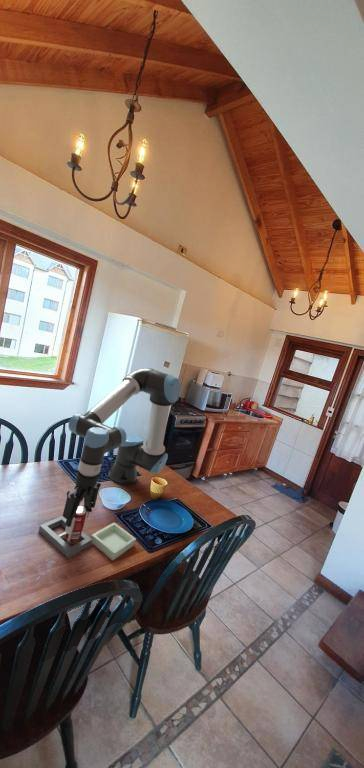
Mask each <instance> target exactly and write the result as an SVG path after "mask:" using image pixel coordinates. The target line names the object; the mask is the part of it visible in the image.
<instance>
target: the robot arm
mask: <svg viewBox="0 0 364 768" xmlns="http://www.w3.org/2000/svg"><path fill="white" fill-rule="evenodd" d="M121 380H122V381H121V383H120V384H119V385H117V386H116V387H115V388H114V389H113V390H112V391H111V392H109V393H107V394H106V396H104V397H103V398H102V399H101V400H99V402H97V403H96V404H95V405H94V406H93V407H91V408H90V409H89V410H88V411H87V412H86V413H84V414H82V413H81V414H80V413H75V414H73V415H72V416H71V418H70V419H69V421H68V426H67V427H68V429H69V432H71V433H73V434H75V435H76V436H79V437H81V438H84V440H83V445H82V451H81V456H80V459H79V463H78V467H77V471H76V476H75V482H76V484H75V486H74V488H73V490H71V491H70V490H68V491H67V492H66V501H65V505H64V508H63V512H62V516H63V517H64V518H66V519H67V520H66V529H65V528H64V532H66V533H68V534H69V535H72V531H73V526H74V522H75V518H74V516H75V514H76V511H77V509H78V507H79V506H81V505H80V504H81V502H82V501H83V507H85V508H86V517H85V521H84V526H83V529H84V528H86V523H87V519H88V517H89V513H92V512H93V509H94V508H95V507H96V503H97V499H98V495H99V490H100V488H101V487H102V483H100V482H99V478H100V473H101V468H102V465H103V461H104V458H105V454H106V453H109V452H110V451H114V450H116V449H117V453H116V456H115V457H116V458H115V461H114V463H113V465H112V466H111V467H110V469H109V471H108V477H110V478H109V479H110V480H111V481H112V482H114V483H116V484H120V485H132V484H134V483H136V482H137V481H136V480H137V478H138V474H137V467H139V468H141V469H143V470H146V471H147V472H149V473H152V474H154V475H157V474H159V473H160V472H161V471H162V470H163V468H164V467H165V465H166V463H167V460H168V457H169V455H168V453H166V446H165V445H164V440H165V435H166V429H167V424H168V420H169V419H168V418H169V412H170V408H171V407H172V406H173V405H174V404H175V403H176V402H177V401H178V399H179V397H180V394H181V390H182V388H181V386H182V385H181V380H180V379H179V378H178V377H176V376H173V375H172V374H169V373H165V372H162V371H159V370H155V369H153V368H149V367H147V368H146V367H145V368H139V369H137V370H135V371H134V370H133V371H132V372H129V374H127V375H125V377H124V378H122V379H121ZM141 392H142V393H146V394H148V395H149V401H150V403H151V408H150V416H149V421H148V428H147V434H146V441H145V442H144V439H143V438H141V437H140V436H136V435H127V433H126V431H125V429H124V428H122V427H121V426H114V427H111V426H108V425H106V424H104V423H105V422H106V421H107V420H108V419H109V418H110V417H111V416H112V415H113V414H115V413H116V412H117V411H118V410H119V409H120V408H121V407H122V406H123V405H124V404H125V403H127V402H128V400H129V399H130V398H131V397H133V396H135V395H138V394H140V393H141Z"/></svg>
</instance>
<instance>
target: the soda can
mask: <svg viewBox="0 0 364 768" xmlns="http://www.w3.org/2000/svg"><path fill="white" fill-rule="evenodd" d="M85 517H86V508H85V507H84V505H79V507H78V509H77V511H76V514H75V516H74V518H75V522H74V526H73V531H72V535H69V534H68V533H66V539H65V540H66V542H68V543H70V544H77V543H79V542H80V541H79V540H80V538H81V534H82V532H83V529H84V528H83V526H84V521H85Z"/></svg>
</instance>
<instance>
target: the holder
mask: <svg viewBox="0 0 364 768" xmlns="http://www.w3.org/2000/svg"><path fill="white" fill-rule="evenodd" d="M66 520H67V519H66V518H64V517H63V515H61V516H58V517H56V518H52V519H51V520H49V521H46V522H45V523H42V524H40V525H39V528H38V532H39V533H40V534H41V535H42V536H43V537H45V538H46V539H47V540H48V541H49V542H50V543H51V544H52V545H53V546H54V547H55V548H57V550H58V551H60V552H61V553H62V554H63V555H64V556H65V557H66V558H67V559H70V558H72V557H73V556H74V555H77V554H78V553H80V552H81V551H83V550H85V549H86V548H88V547H90V546H91V545H92V543H91V542H92V539H91V537H90V536H89V535H87V534H86V533H85V532H83V531H82V534H81V538H80V540H79V541H78V542H76V543H74V545H72V546H70V544H68V543H67V541H65V540H66V532H65V531H64V532H62V533H60V534H57V533H55V531H54V530H52V529H55V528H56V527H59V526H61V527H63V529H64V530H65V529H66Z"/></svg>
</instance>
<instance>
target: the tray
mask: <svg viewBox="0 0 364 768" xmlns="http://www.w3.org/2000/svg"><path fill="white" fill-rule="evenodd" d="M90 538H91V539H92V542H91V545H93V546H95V547H96V548H97V549H99V551H101V553H103V554H105V556H107V558H109V559H110V560H111V561H114V560H116V559H117V558H119V557H120V556H121V555H122V554H124V553H125V552H127V551H128V550H130V549H131V548H132V547H134V546H135V544H136V541H137V538H136V537H135V536H133V535H132V534H130V533H129V532H128V531H126V530H125V529H124V528H122V527H121V526H120V525H119V524H118V523H116V522H112V523H110V524H109V525H107V526H104V527H103V528H102V529H101V528H100V529H99V530H98V531H96V532H94V533H93V534H91V537H90Z"/></svg>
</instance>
